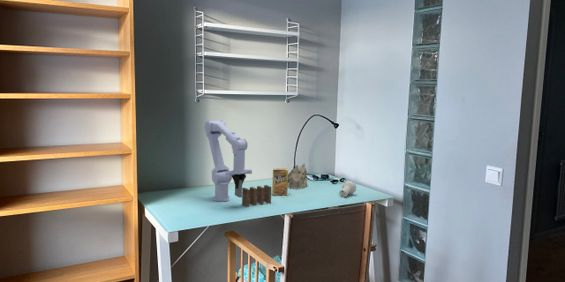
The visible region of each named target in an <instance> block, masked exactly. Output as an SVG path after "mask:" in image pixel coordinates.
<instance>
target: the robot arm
mask: <svg viewBox="0 0 565 282" xmlns="http://www.w3.org/2000/svg"><path fill="white" fill-rule="evenodd" d="M204 123H205V124H204V131H205V134H206V138H207V140H208V142H209V143H208V144H209V147H210V151H211V155H212V160H213V165H214V168H213V169H212V170H211V181H212V183H213V184H214V198H213V201H214V202H229V199H230V195H229V184H230V183H231V181H232V180H233V182H234V188H235V187H236V189H238V185H239V180H240V179H241V180H242V185H243V184H244V182H245V180H246V178H247V175H252V174H253V171H252V169H245V167H246V166H245V163H246V161H245V160H246V158H245V157H246V151H247V150H248V141H247V140H246V139H245V138H240V136H239V135H238V134H237V133H236V132H235V131H230V130H229V129H228V127H227V126H226V122H225V121H224V120H223V119H220V120H218V119H217V120H206V121H205V122H204ZM222 135H223V136H225V140H226V141H227V142H228V143H229V144H230V145H231V150H232V154H233V165H232V166H233V170H230V168H229V167H228V166H227V165H225V162H224V158H223V154H222V150H221V145H220V142H219V138H220V137H221V136H222Z"/></svg>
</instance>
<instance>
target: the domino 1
mask: <svg viewBox="0 0 565 282" xmlns="http://www.w3.org/2000/svg"><path fill="white" fill-rule="evenodd" d="M242 188H243V184H242V180H241V179H240V180H239V185H238V189H236V187H235V186H234V196H236V197H238V198H239V199H240V198H242Z"/></svg>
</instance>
